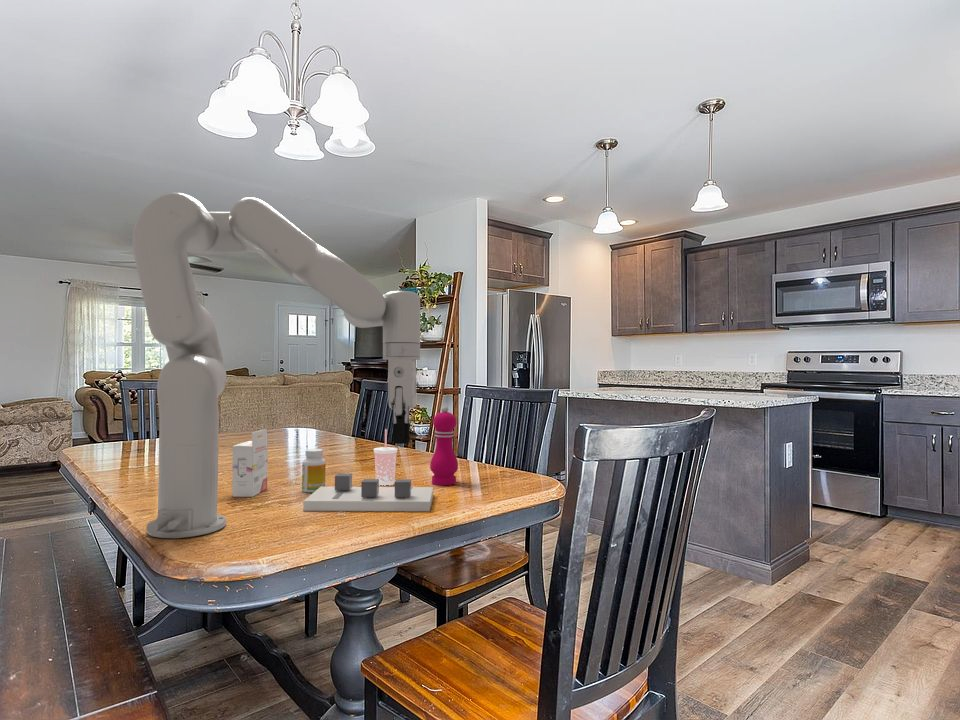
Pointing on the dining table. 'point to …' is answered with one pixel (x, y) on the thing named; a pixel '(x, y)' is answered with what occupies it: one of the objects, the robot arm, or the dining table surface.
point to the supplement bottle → (313, 470)
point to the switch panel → (368, 500)
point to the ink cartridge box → (250, 466)
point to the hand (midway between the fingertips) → (401, 443)
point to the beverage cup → (385, 463)
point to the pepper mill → (444, 449)
